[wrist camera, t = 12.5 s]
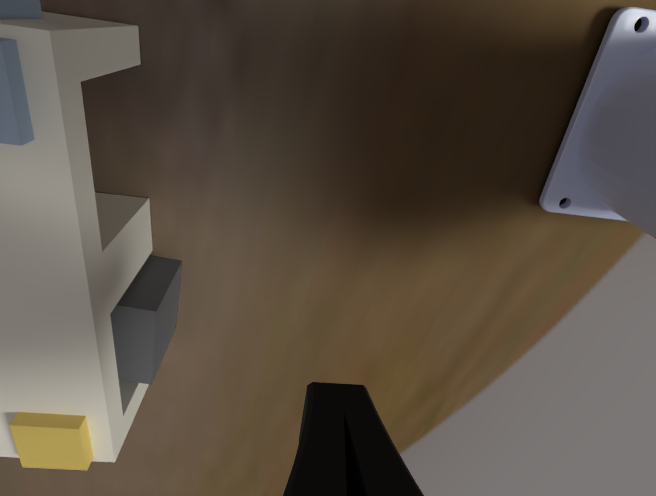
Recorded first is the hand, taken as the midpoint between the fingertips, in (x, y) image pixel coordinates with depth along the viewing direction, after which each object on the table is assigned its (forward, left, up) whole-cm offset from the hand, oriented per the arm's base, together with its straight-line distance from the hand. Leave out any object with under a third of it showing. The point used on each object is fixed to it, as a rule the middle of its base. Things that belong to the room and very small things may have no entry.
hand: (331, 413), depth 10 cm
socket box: (+10, +1, -10) cm, 14 cm away
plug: (+9, +4, -11) cm, 14 cm away
